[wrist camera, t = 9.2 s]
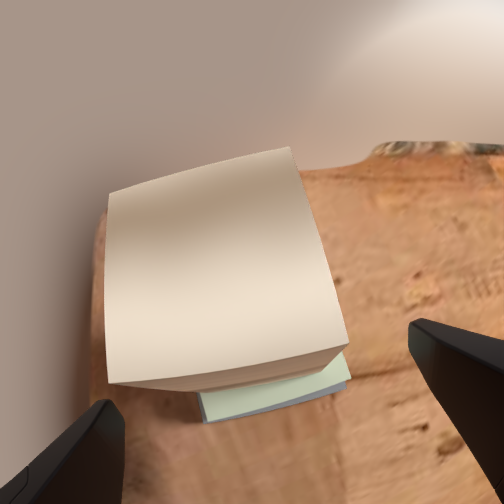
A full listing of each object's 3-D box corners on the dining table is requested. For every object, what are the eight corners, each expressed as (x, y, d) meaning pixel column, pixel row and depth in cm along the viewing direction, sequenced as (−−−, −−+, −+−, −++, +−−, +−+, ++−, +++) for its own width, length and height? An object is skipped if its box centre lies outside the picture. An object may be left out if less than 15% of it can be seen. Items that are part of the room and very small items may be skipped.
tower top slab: (343, 380, 18) (351, 378, 16) (217, 418, 18) (208, 421, 15) (301, 266, 21) (303, 249, 19) (187, 301, 21) (175, 289, 19)
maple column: (320, 372, 16) (348, 343, 7) (209, 393, 16) (108, 383, 7) (296, 269, 18) (289, 146, 9) (195, 291, 19) (109, 193, 10)
